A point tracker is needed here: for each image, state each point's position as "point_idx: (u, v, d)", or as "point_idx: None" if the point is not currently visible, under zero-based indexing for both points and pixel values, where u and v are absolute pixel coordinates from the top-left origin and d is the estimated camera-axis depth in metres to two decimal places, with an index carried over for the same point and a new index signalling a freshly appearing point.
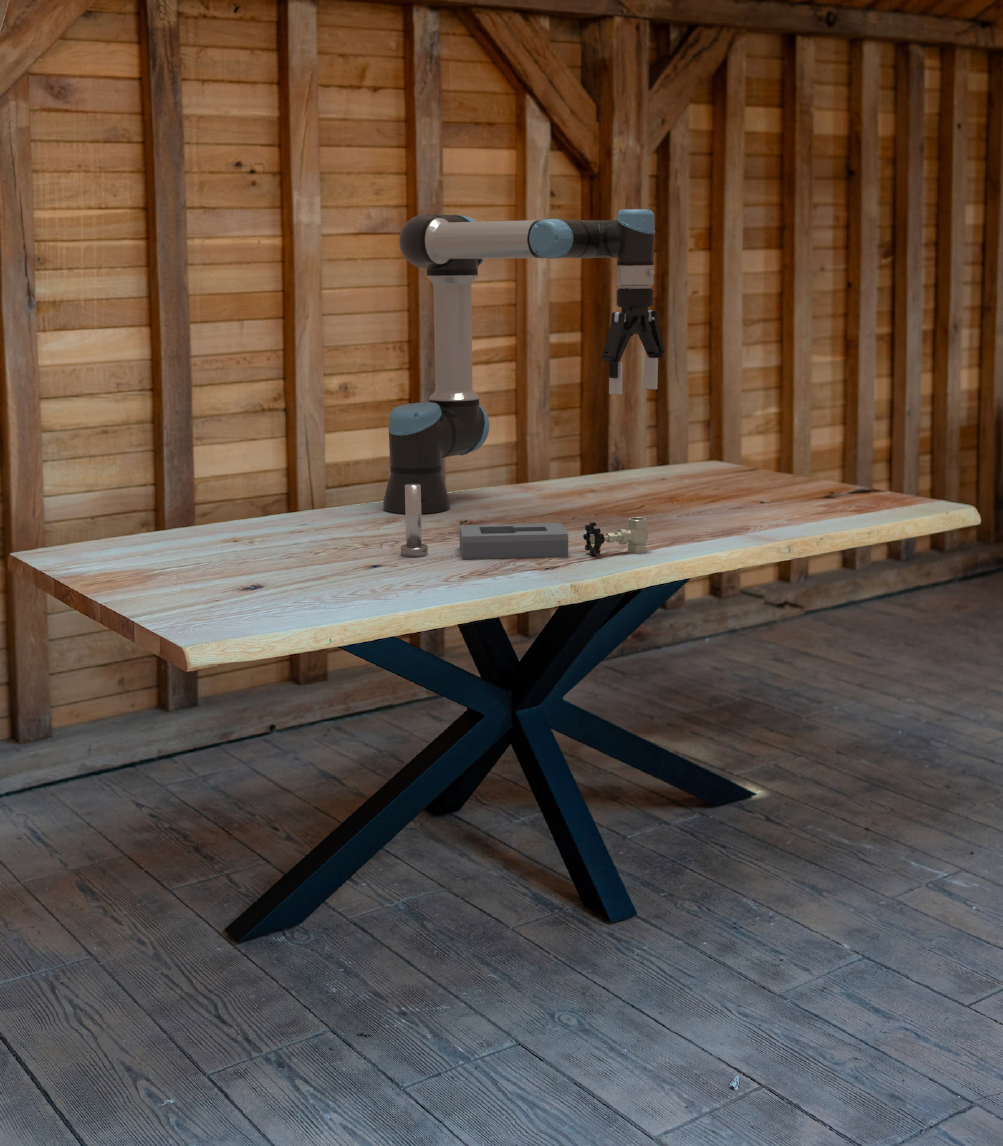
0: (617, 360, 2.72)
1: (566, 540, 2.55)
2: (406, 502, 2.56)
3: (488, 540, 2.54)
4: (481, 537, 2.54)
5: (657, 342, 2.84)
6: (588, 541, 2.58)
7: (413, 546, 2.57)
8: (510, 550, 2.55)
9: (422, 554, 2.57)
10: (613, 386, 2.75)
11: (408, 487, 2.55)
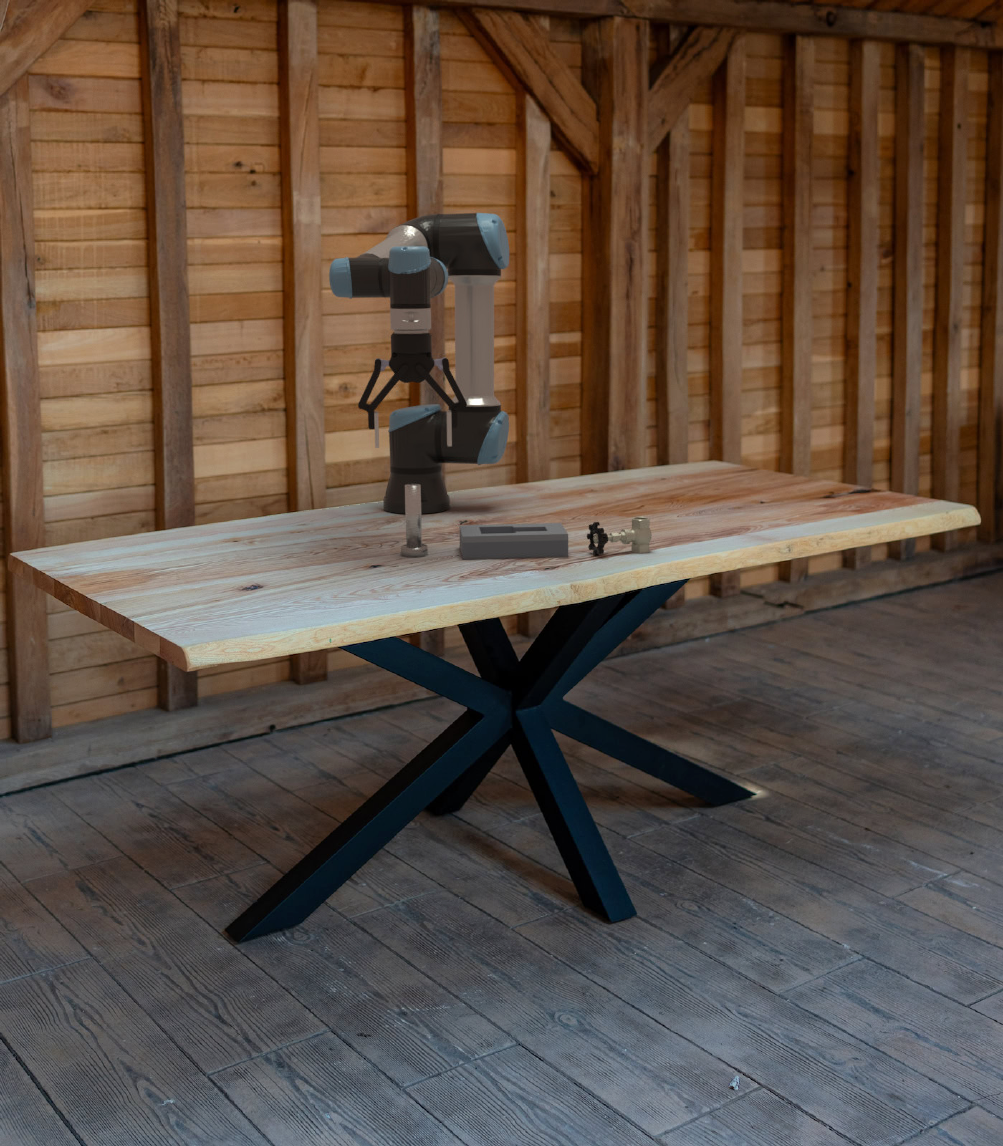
0: (369, 410, 2.51)
1: (566, 540, 2.55)
2: (406, 502, 2.56)
3: (488, 540, 2.54)
4: (481, 537, 2.54)
5: None
6: (592, 541, 2.58)
7: (413, 546, 2.57)
8: (510, 550, 2.55)
9: (422, 554, 2.57)
10: None
11: (408, 487, 2.55)
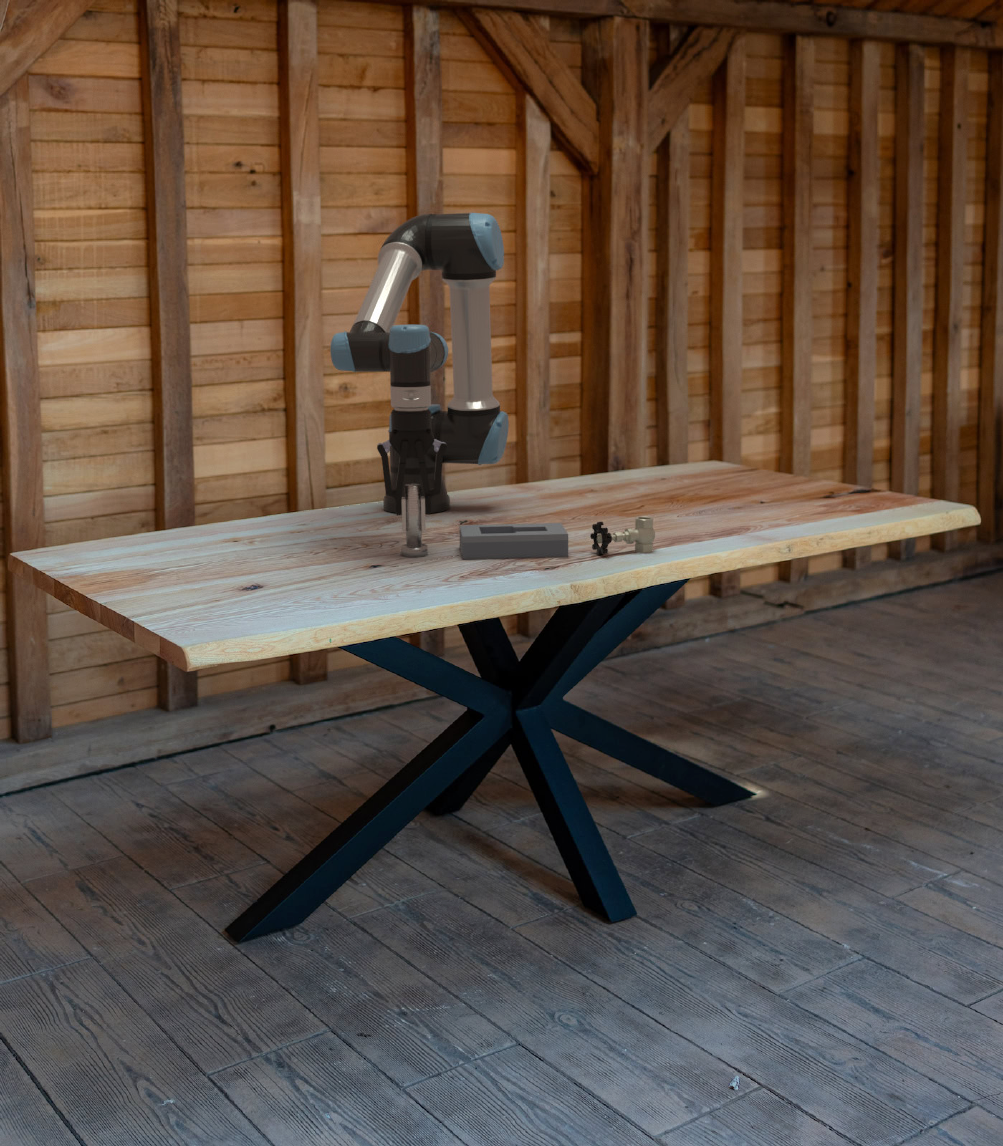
0: (397, 497, 2.55)
1: (566, 540, 2.55)
2: (406, 502, 2.56)
3: (488, 540, 2.54)
4: (481, 537, 2.54)
5: (434, 478, 2.55)
6: (595, 540, 2.58)
7: (413, 546, 2.57)
8: (510, 550, 2.55)
9: (422, 554, 2.57)
10: None
11: (408, 487, 2.55)
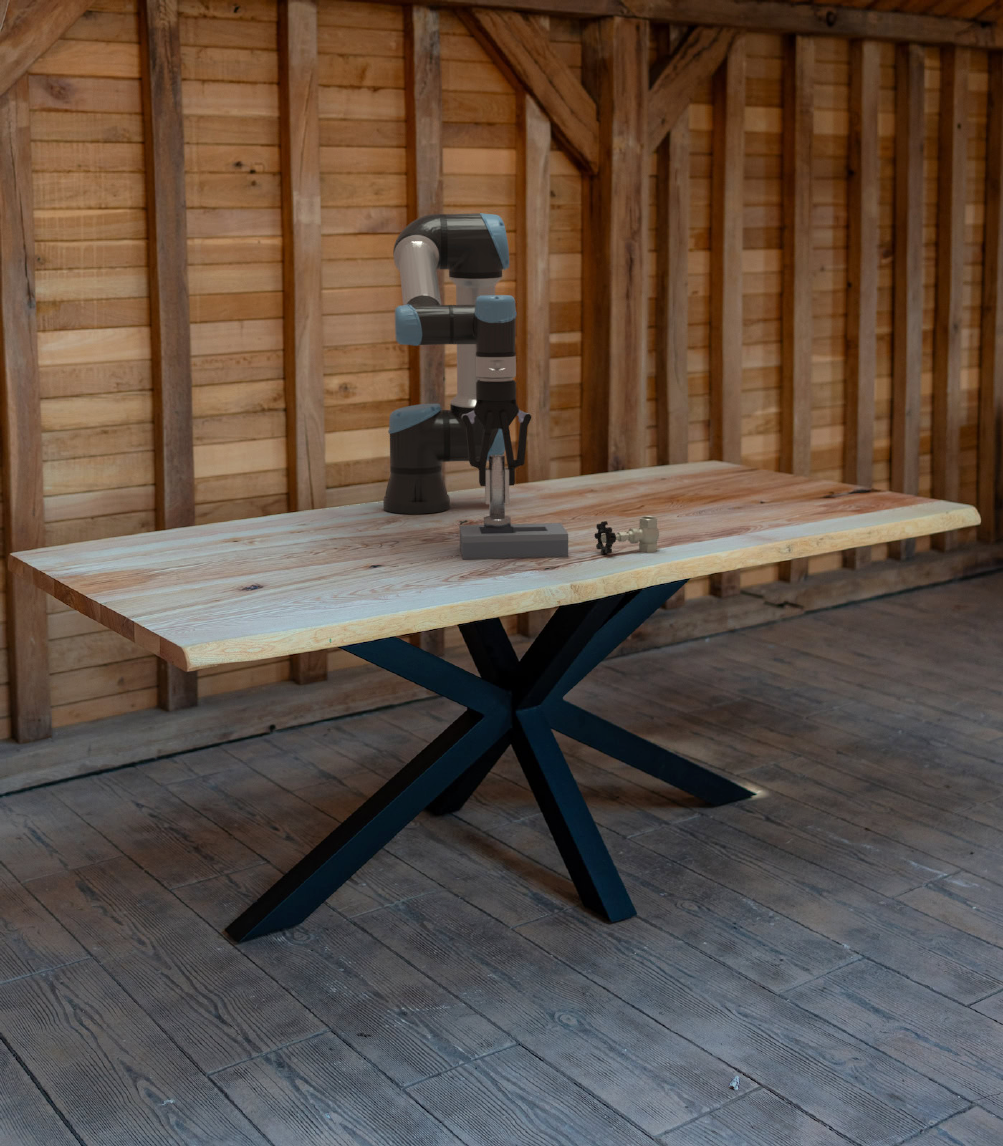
0: (481, 468, 2.55)
1: (566, 540, 2.55)
2: (490, 473, 2.56)
3: (488, 540, 2.54)
4: (481, 537, 2.54)
5: (518, 449, 2.55)
6: (599, 540, 2.58)
7: (497, 517, 2.57)
8: (510, 550, 2.55)
9: (506, 525, 2.57)
10: (485, 494, 2.58)
11: (492, 457, 2.55)
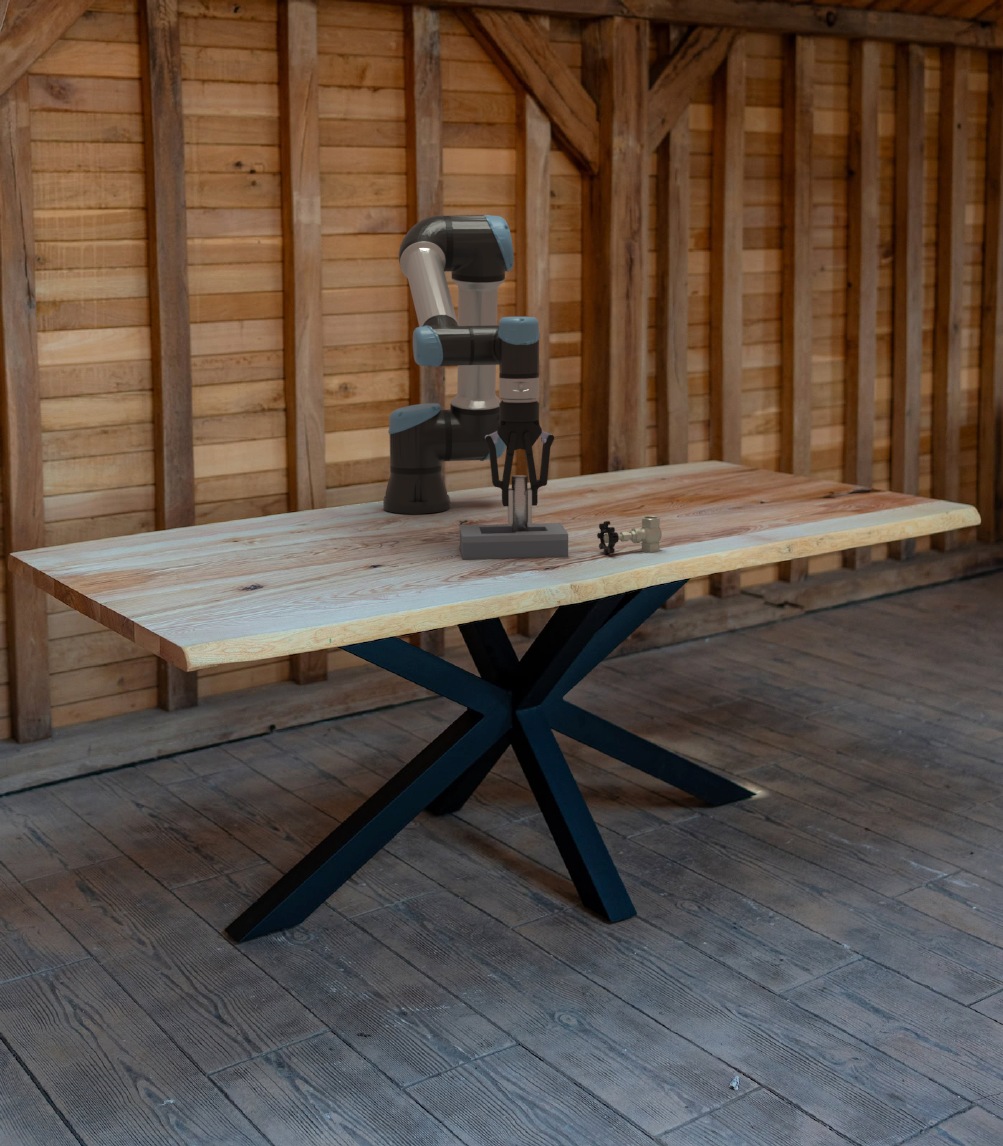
0: (504, 489, 2.56)
1: (566, 540, 2.55)
2: (513, 493, 2.57)
3: (488, 540, 2.54)
4: (481, 537, 2.54)
5: (541, 469, 2.57)
6: (602, 540, 2.59)
7: None
8: (510, 550, 2.55)
9: None
10: (508, 514, 2.59)
11: (515, 478, 2.56)
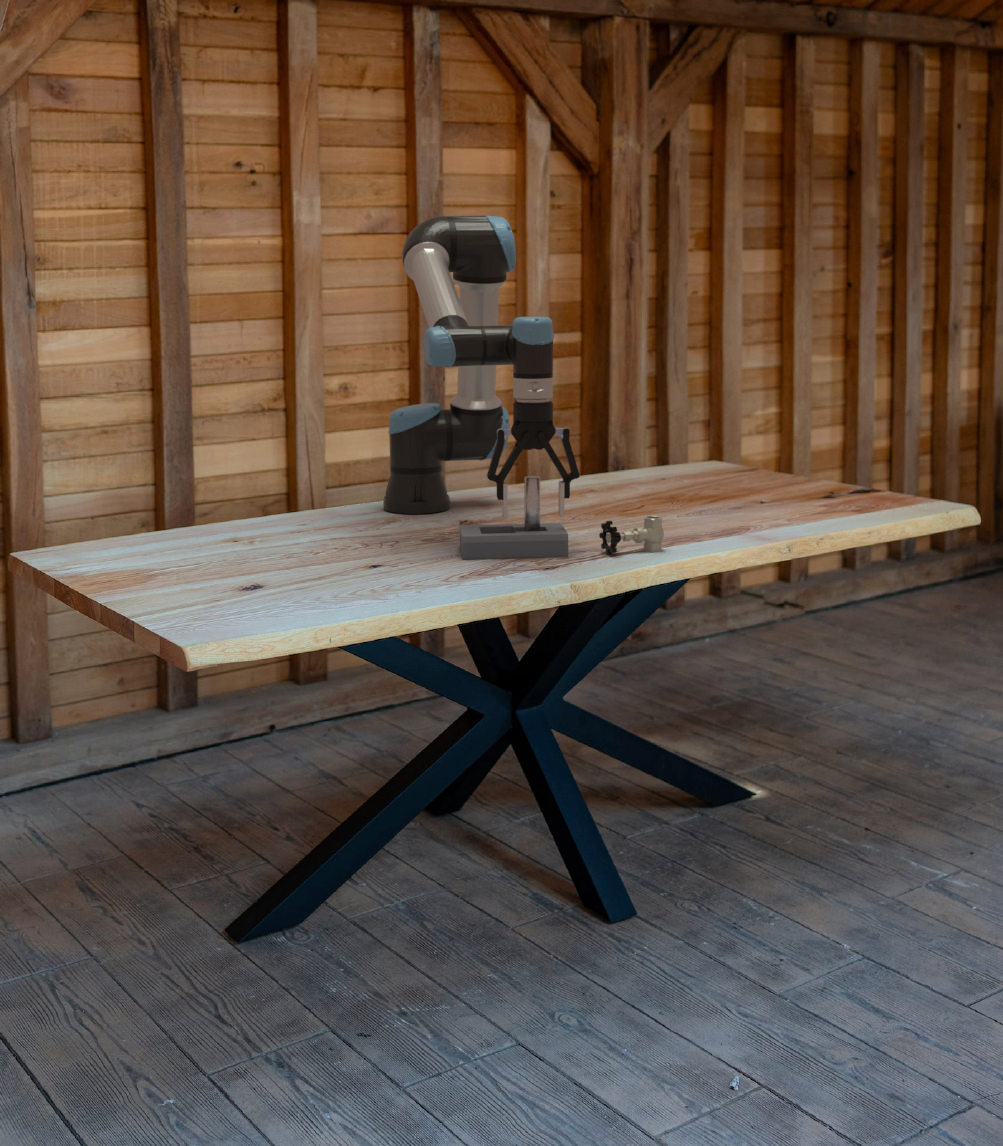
0: (499, 482, 2.56)
1: (566, 540, 2.55)
2: (526, 494, 2.57)
3: (488, 540, 2.54)
4: (481, 537, 2.54)
5: (569, 464, 2.57)
6: (604, 540, 2.59)
7: None
8: (510, 550, 2.55)
9: None
10: None
11: (528, 479, 2.56)
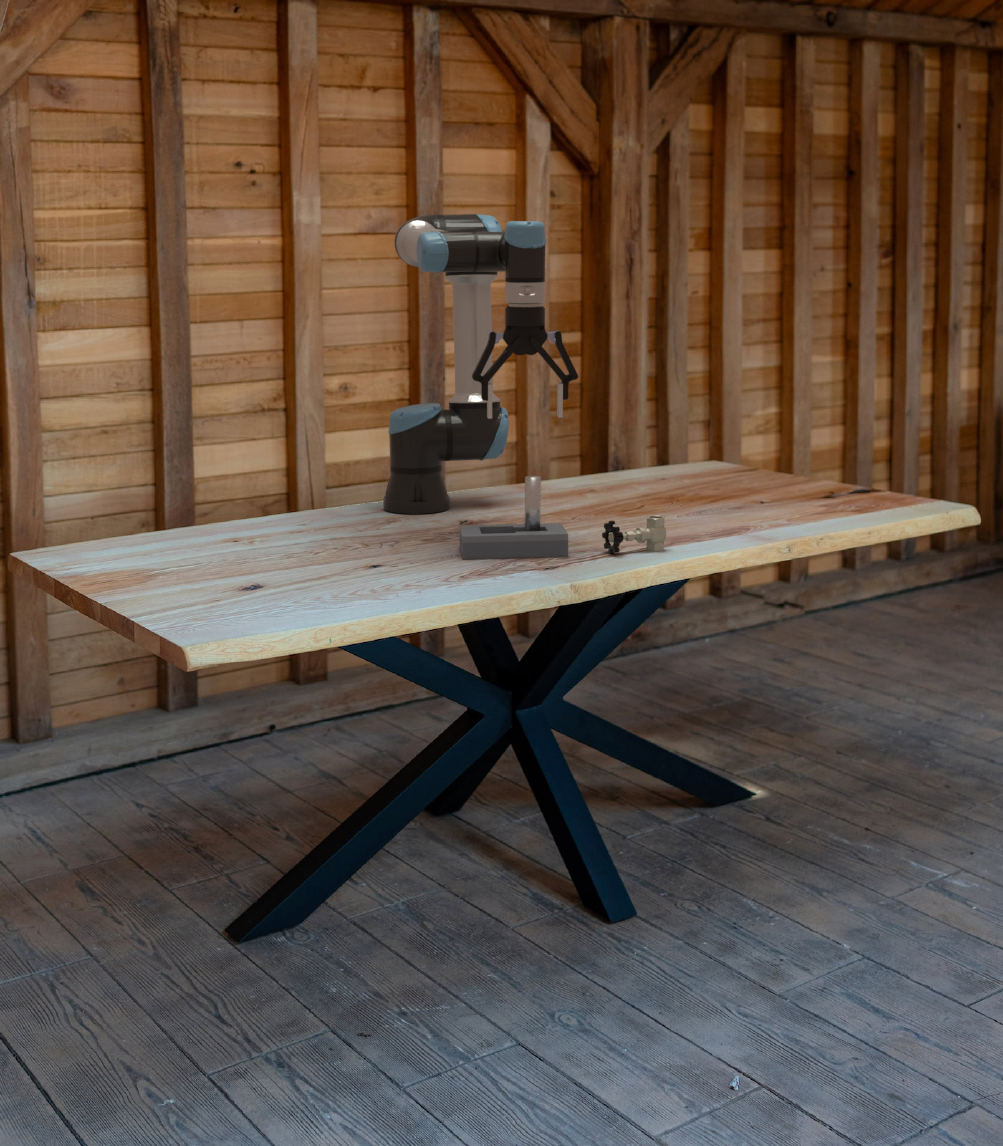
0: (483, 382, 2.57)
1: (566, 540, 2.55)
2: (526, 494, 2.58)
3: (488, 540, 2.54)
4: (481, 537, 2.54)
5: (566, 366, 2.58)
6: (607, 539, 2.59)
7: None
8: (510, 550, 2.55)
9: None
10: (487, 409, 2.60)
11: (529, 478, 2.56)
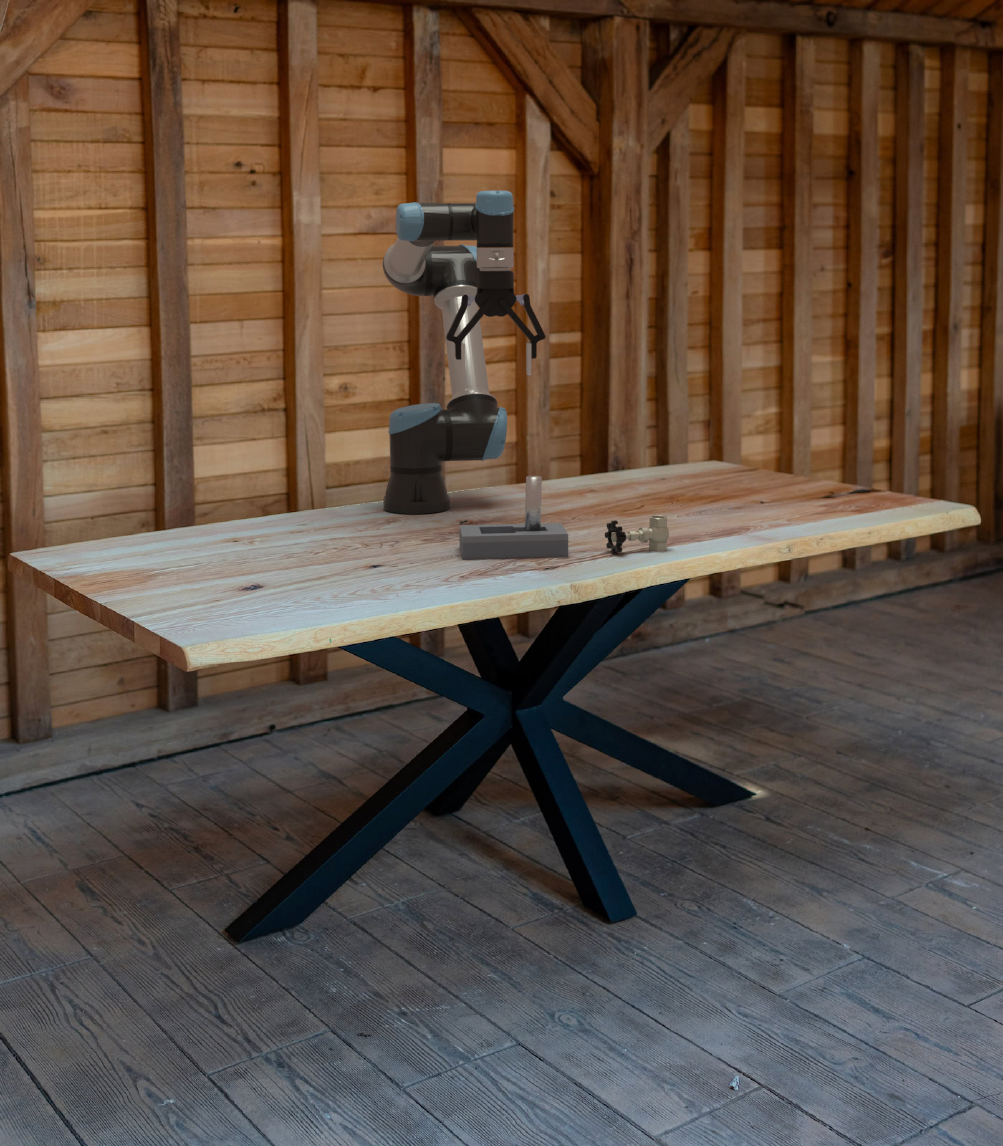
0: (456, 342, 2.75)
1: (566, 540, 2.55)
2: (527, 494, 2.57)
3: (488, 540, 2.54)
4: (481, 537, 2.54)
5: (534, 327, 2.76)
6: (609, 539, 2.59)
7: None
8: (510, 550, 2.55)
9: None
10: None
11: (530, 478, 2.56)
